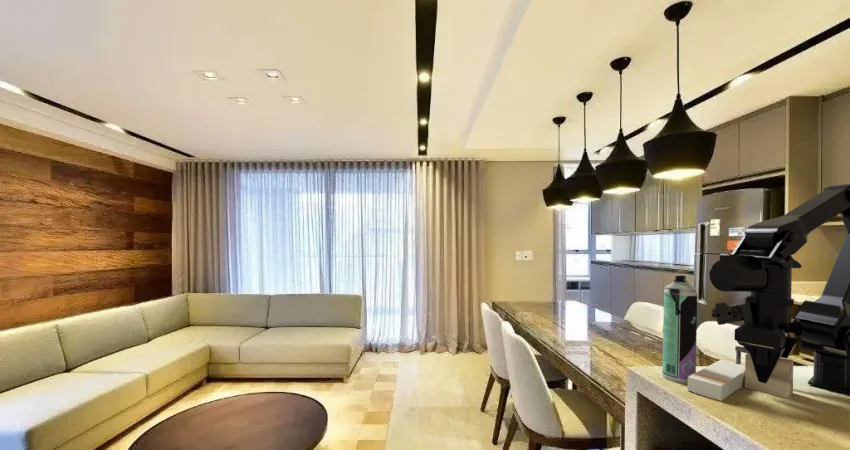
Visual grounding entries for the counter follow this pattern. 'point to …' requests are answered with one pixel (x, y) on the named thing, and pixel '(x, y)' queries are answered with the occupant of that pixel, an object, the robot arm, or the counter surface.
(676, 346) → the spray can
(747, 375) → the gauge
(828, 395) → the counter surface
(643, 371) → the counter surface
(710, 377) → the board
